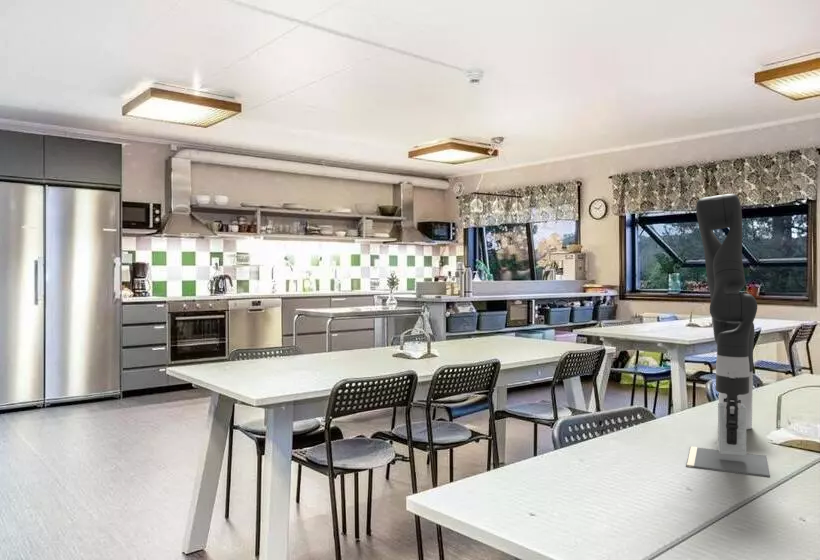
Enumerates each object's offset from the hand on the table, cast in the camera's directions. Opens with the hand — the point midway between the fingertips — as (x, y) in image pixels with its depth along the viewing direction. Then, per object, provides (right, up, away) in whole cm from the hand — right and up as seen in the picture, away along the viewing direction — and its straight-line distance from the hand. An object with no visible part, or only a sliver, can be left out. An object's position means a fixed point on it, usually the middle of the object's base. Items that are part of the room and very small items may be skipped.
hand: (731, 441), depth 163 cm
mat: (-1, -5, 0) cm, 5 cm away
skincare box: (0, -3, 0) cm, 3 cm away
